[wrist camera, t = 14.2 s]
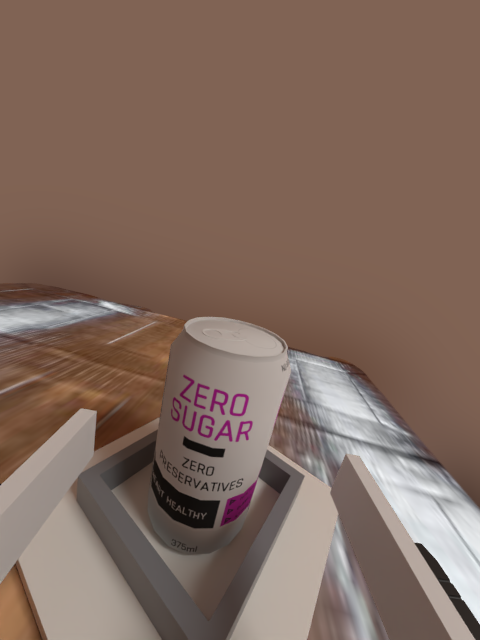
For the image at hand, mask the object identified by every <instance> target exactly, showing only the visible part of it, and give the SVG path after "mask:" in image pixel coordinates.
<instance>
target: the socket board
mask: <svg viewBox="0 0 480 640" xmlns="http://www.w3.org/2000/svg"><path fill="white" fill-rule="evenodd" d="M159 420H160V417H159V418H157V419H155V420H153V421H151V422H149V423H148V424H146V425H144V426H142V427H140V428H138V429H136V430H134V431H132V432H130V433H128V434H126V435H125V436H123V437H121V438H119V439H117V440H115V441H113V442H111V443H109V444H107V445H105V446H103V447H102V448H100V449H98V450H96V451H94V455H93V457H92V458H91V460H90V461H89V462H88V464H87V465H86V466H85V468H84V469H83V471H82V472H81V473H80V475H79V476H78V477H77V479H76V480H75V482H74V483H73V484H72V486H71V487H70V488H69V490H68V491H67V493H66V494H65V495H64V497H63V498H62V499H61V501H60V502H59V504H58V505H57V506H56V508H55V509H54V510H53V512H52V513H51V515H50V516H49V517H48V519H47V520H46V521H45V523H44V524H43V526H42V527H41V528H40V530H39V531H38V532H37V534H36V535H35V537H34V538H33V539H32V541H31V542H30V544H29V545H28V546H27V548H26V549H25V550H24V552H23V553H22V555H21V556H20V557H19V559H18V560H17V561H16V563H15V564H16V567H17V570H18V573H19V575H20V578H21V581H22V584H23V587H24V589H25V592H26V595H27V598H28V601H29V603H30V606H31V609H32V612H33V615H34V617H35V620H36V623H37V626H38V629H39V631H40V634H41V637H42V640H307V637H308V633H309V629H310V625H311V621H312V617H313V613H314V609H315V605H316V601H317V597H318V593H319V589H320V585H321V581H322V577H323V573H324V568H325V564H326V560H327V556H328V552H329V548H330V544H331V540H332V536H333V532H334V528H335V524H336V520H337V516H338V511H337V509H336V506H335V504H334V502H333V499H332V497H331V494H330V491H331V489H332V488H331V487H329V486H328V485H326V484H325V483H323V482H322V481H320V480H319V479H317V478H316V477H314V476H313V475H312V474H310V473H309V472H307V471H306V470H304V469H303V468H301V467H300V466H298V465H297V464H295V463H294V462H293V461H291V460H290V459H288V458H287V457H285V456H284V455H282V454H281V453H279V452H278V451H277V450H275V449H274V448H272V447H271V446H269V445H268V447H267V451H266V454H265V457H264V460H263V464H262V467H261V470H260V473H259V477H258V480H257V483H256V486H255V490H254V493H253V496H252V499H251V503H250V506H249V509H248V512H247V515H246V518H245V521H244V524H243V527H242V529H241V530H240V532H239V533H238V534H237V535H236V536H235V537H234V539H233V540H232V541H231V542H230V543H229V544H228V545H226V546H224V547H222V548H220V549H218V550H216V551H214V552H212V553H210V554H186V553H184V552H181V551H179V550H177V549H174V548H172V547H170V546H168V545H167V544H166V543H165V542H164V541H163V540H162V538H161V537H160V536H159V535H158V534H157V533H156V532H155V531H154V529H153V526H152V523H151V520H150V517H149V514H148V511H147V510H148V491H149V485H150V478H151V472H152V465H153V459H154V452H155V446H156V439H157V433H158V426H159Z"/></svg>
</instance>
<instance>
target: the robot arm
mask: <svg viewBox="0 0 480 640" xmlns="http://www.w3.org/2000/svg"><path fill="white" fill-rule="evenodd" d="M96 414H97V411H93V410H88V409H82V408H81V409H80V410H79V411H78V412H77V413H76V414H74V415H73V416H72V417H71V418H70V419H69V420H68V421H67V422H66V423H65V424H64V425H63V426H62V427H61V428H60V429H59V430H58V431H57V432H56V433H55V434H54V435H53V436H52V437H50V438H49V439H48V440H47V441H46V442H45V443H44V444H43V445H42V446H41V447H40V448H39V449H38V450H37V451H36V452H35V453H34V454H33V455H32V456H31V457H30V458H29V459H28V460H26V461H25V462H24V463H23V464H22V465H21V466H20V467H19V468H18V469H17V470H16V471H15V472H14V473H13V474H12V475H11V476H10V477H9V478H8V479H7V480H6V481H5V482H4V483H2V484H0V583H1V582H2V581H3V579H4V578H5V577H6V575H7V574H8V572H9V571H10V570H11V568H12V567H13V566H14V564H15V563H16V561H17V560H18V559H19V557H20V556H21V555H22V553H23V552H24V550H25V549H26V548H27V546H28V545H29V544H30V542H31V541H32V539H33V538H34V537H35V535H36V534H37V532H38V531H39V530H40V528H41V527H42V526H43V524H44V523H45V521H46V520H47V519H48V517H49V516H50V515H51V513H52V512H53V510H54V509H55V508H56V506H57V505H58V504H59V502H60V501H61V499H62V498H63V497H64V495H65V494H66V493H67V491H68V490H69V488H70V487H71V486H72V484H73V483H74V482H75V480H76V479H77V477H78V476H79V475H80V473H81V472H82V471H83V469H84V468H85V466H86V465H87V464H88V462H89V461H90V460H91V458H92V457H93V455H94V442H95V428H96ZM330 494H331V497H332V499H333V502H334V504H335V506H336V509H337V511H338V514H339V516H340V519H341V521H342V524H343V526H344V529H345V531H346V534H347V536H348V538H349V541H350V543H351V546H352V548H353V551H354V553H355V556H356V558H357V561H358V563H359V566H360V568H361V570H362V573H363V575H364V578H365V580H366V583H367V585H368V588H369V590H370V593H371V595H372V598H373V600H374V602H375V605H376V607H377V610H378V612H379V615H380V617H381V620H382V622H383V625H384V627H385V630H386V632H387V635H388V637H389V639H390V640H480V624H479V623H478V621H477V620H476V618H475V617H474V615H473V614H472V612H471V611H470V609H469V608H468V606H467V605H466V603H465V602H464V601H463V600H462V599H461V596H460V594H459V593H458V591H457V590H456V588H455V587H454V585H453V584H451V583H450V580H449V578H448V577H447V575H446V574H445V572H444V571H443V569H442V568H441V566H440V565H439V563H438V562H437V560H436V559H435V558H434V557H433V556H432V555H431V554H430V553H429V552H428V550H427V549H426V548H425V547H424V546H423V545H422V544H420V543H414V542H413V540H412V539H411V537H410V536H409V534H408V532H407V531H406V529H405V528H404V526H403V524H402V523H401V521H400V520H399V518H398V517H397V515H396V513H395V512H394V510H393V509H392V507H391V505H390V504H389V502H388V501H387V499H386V498H385V496H384V494H383V493H382V491H381V490H380V488H379V486H378V485H377V483H376V482H375V480H374V479H373V477H372V475H371V474H370V472H369V471H368V469H367V467H366V466H365V464H364V463H363V461H362V460H361V458H360V456H356V455H350V454H346V455H345V457H344V460H343V462H342V465H341V467H340V469H339V472H338V474H337V477H336V479H335V482H334V484H333V486H332V489H331V491H330Z"/></svg>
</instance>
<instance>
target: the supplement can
mask: <svg viewBox="0 0 480 640" xmlns="http://www.w3.org/2000/svg"><path fill="white" fill-rule="evenodd" d="M287 349H288V347H287V345H286V343H285V341H284V340H283V339H281V338H280V337H279V336H278V335H276V334H274V333H273V332H271V331H269V330H267V329H264V328H262V327H259V326H256V325H254V324H250V323H246V322H243V321H239V320H234V319H228V318H220V317H198V318H194V319H191V320H188V322H187V323H186V324H185V325H184V329H183V331H182V332H181V333H180V334H179V336H178V337H177V338H176V339H175V341H174V342H173V343H172V344H171V349H170V355H169V362H168V368H167V375H166V381H165V388H164V394H163V400H162V407H161V413H160V420H159V426H158V433H157V439H156V446H155V452H154V459H153V465H152V472H151V478H150V485H149V491H148V510H147V511H148V514H149V517H150V520H151V523H152V526H153V529H154V531H155V532H156V533H157V534H158V535H159V536H160V537H161V538H162V540H163V541H164V542H165V543H166V544H167V545H168V546H170V547H172V548H174V549H177V550H179V551H181V552H184V553H186V554H210V553H212V552H214V551H216V550H218V549H220V548H222V547H224V546H226V545H228V544H229V543H230V542H231V541H232V540H233V539H234V537H235V536H236V535H237V534H238V533H239V532H240V530H241V529H242V527H243V524H244V521H245V518H246V515H247V512H248V509H249V506H250V503H251V499H252V496H253V493H254V490H255V486H256V483H257V480H258V477H259V473H260V470H261V467H262V464H263V460H264V457H265V454H266V451H267V447H268V444H269V441H270V438H271V434H272V431H273V428H274V425H275V421H276V418H277V415H278V412H279V408H280V405H281V402H282V399H283V395H284V392H285V389H286V386H287V382H288V379H289V376H290V373H291V369H290V364H289V360H288V355H287Z"/></svg>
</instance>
